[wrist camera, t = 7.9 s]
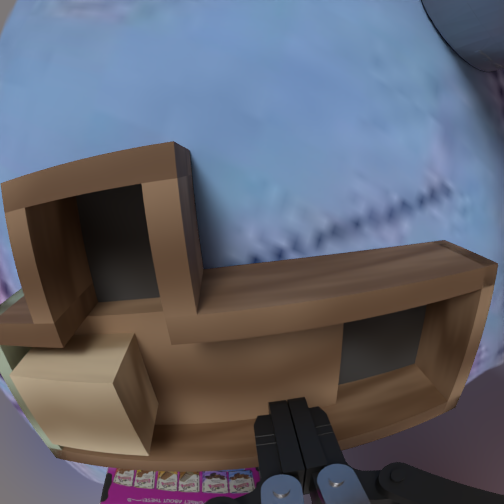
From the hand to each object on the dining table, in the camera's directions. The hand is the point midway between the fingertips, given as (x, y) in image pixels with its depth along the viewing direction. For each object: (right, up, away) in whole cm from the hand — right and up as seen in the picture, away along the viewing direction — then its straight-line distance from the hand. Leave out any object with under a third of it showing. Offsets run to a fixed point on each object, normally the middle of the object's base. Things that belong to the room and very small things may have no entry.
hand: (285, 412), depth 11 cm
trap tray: (-2, +4, +5) cm, 7 cm away
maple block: (-10, 0, +3) cm, 10 cm away
